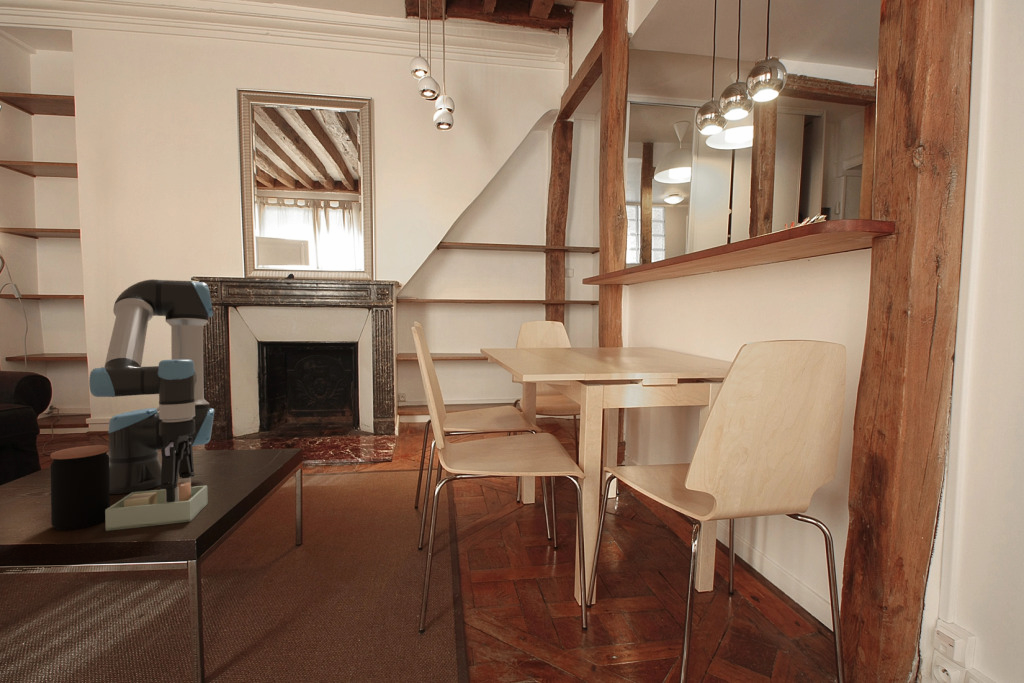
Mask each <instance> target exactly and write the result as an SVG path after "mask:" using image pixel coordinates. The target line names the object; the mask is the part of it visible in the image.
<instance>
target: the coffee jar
mask: <svg viewBox="0 0 1024 683" xmlns="http://www.w3.org/2000/svg"><path fill="white" fill-rule="evenodd" d="M107 453H109V445H105V444H104V445H103V444H102V445H100V444H97V445H96V444H95V445H94V444H93V445H84V446H83V445H82V446H75V447H69V448H63V449H59V450H56V451H52V452H51V453H50V458H51V460H52V462H51V463H50V513H51V514H50V520H51V526H52V527H53V528H54V529H56V530H57V531H73V530H79V529H83V528H89V527H92V526H95V525H97V524H100V523H102V522H104V521H105V510H106V509H107V508H109V507H110V506H111V500H110V499H111V496H110V495H111V494H110V481H109V454H107Z"/></svg>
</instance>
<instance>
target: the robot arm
mask: <svg viewBox="0 0 1024 683" xmlns="http://www.w3.org/2000/svg"><path fill="white" fill-rule="evenodd" d="M112 312H113V314H114V315H115V319H114V322H113V323H114V324H113V328H112V333H111V337H110V341H109V346H108V348H107V354H106V357H105V362H104V365H103V366H104V367H103V366H102V367H101V366H100V367H97V368H96V367H95V368H93V369H92V370H91V371H90V373H89V377H88V378H89V390H90V394H91V395H92V396H93V397H96V398H117V397H128V396H131V397H132V396H143V395H158V400H159V401H158V407H157V408H156V407H151V408H143V409H136V410H131V411H130V410H129V411H126V412H122V413H118V414H116V415H113V416H112V417H111V418H110V419H109V422H108V430H107V434H108V446H109V451H108V455H109V481H110V495H121V494H130V493H132V492H141V491H148V490H149V489H151V490H152V489H154V488H157V487H159V488H160V489H159V490H163V489H165V503H172V502H179V487H177V483H179V482H190V483H191V484H192V478H191V477H195V475H196V474H195V472H194V471H195V470H194V469H195V468H194V455H193V454H194V452H193V448H194V447H196V446H204V445H207V444H209V442H210V441H211V437H212V431H213V424H214V418H215V408H212V407H210V402H208V401H207V400H206V399H205V390H204V389H205V387H204V381H205V380H204V379H205V378H204V326H205V325H207V324H208V323H209V318H212V317H214V311H213V305H212V299H211V292H210V287H209V285H208V284H207V283H206V282H203V281H201V282H200V281H193V280H171V279H169V280H168V279H147V280H146V279H145V280H141V281H139V282H136V283H134V284H132V285H130V286H128V287H127V288H126V289H125V290H123V291H122V292H121V293H120V294H118V297H117V298H116V300H115V302H114V305H113V311H112ZM155 316H156V317H157V316H158V317H165V322H166V323H167V324H168V325H169V326H170V327H171V334H170V335H171V336H170V337H171V338H170V339H171V341H170V342H171V343H170V344H171V347H170V348H171V359H163V360H160V361H159V362H158V366H157V365H156V366H142V362H143V357H144V356H143V355H144V351H145V343H146V339H147V331H148V325H149V321H150V320H152V319H153V317H155ZM159 450H160V451H161V462H160V460H159V456H158V455H159V454H158V453H159Z"/></svg>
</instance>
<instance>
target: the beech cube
mask: <svg viewBox="0 0 1024 683" xmlns="http://www.w3.org/2000/svg"><path fill="white" fill-rule="evenodd" d="M151 504H157V492H154V493H143V494H134V495H132V496H131V497H129V498H127V499H126V500H124V507H131V506H141V505H151Z"/></svg>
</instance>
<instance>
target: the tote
mask: <svg viewBox="0 0 1024 683" xmlns="http://www.w3.org/2000/svg"><path fill="white" fill-rule="evenodd" d="M154 492H157V504H151V505H141V506H131V507H124V500H126V499H127V498H129V497H131V496H132V495H134V494H143V493H154ZM208 494H209V493H208V485H196V486H191V499H190V500H188V501H182V502H172V503H165V489H153V490H152V489H151V490H142V491H137V492H131V493H128V494H127V495H125V496H124V497H123V498H121V499H120V500H118V501H117V502H115V503H114V504H112V505H110V507H109V508H107V509H106V510H105V520H104V521H105V522H104V523H105V531H106V532H107V531H108V532H109V531H116V530H117V531H118V530H128V529H137V528H143V527H155V526H161V525H162V526H163V525H171V524H181V523H182V524H183V523H189V522H192V520H194V518H196V516H197V515H198V514H200V512H201V511H202V510H203V509H204V508H205V507H206V506H207V505H208V502H209V499H208Z"/></svg>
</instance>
